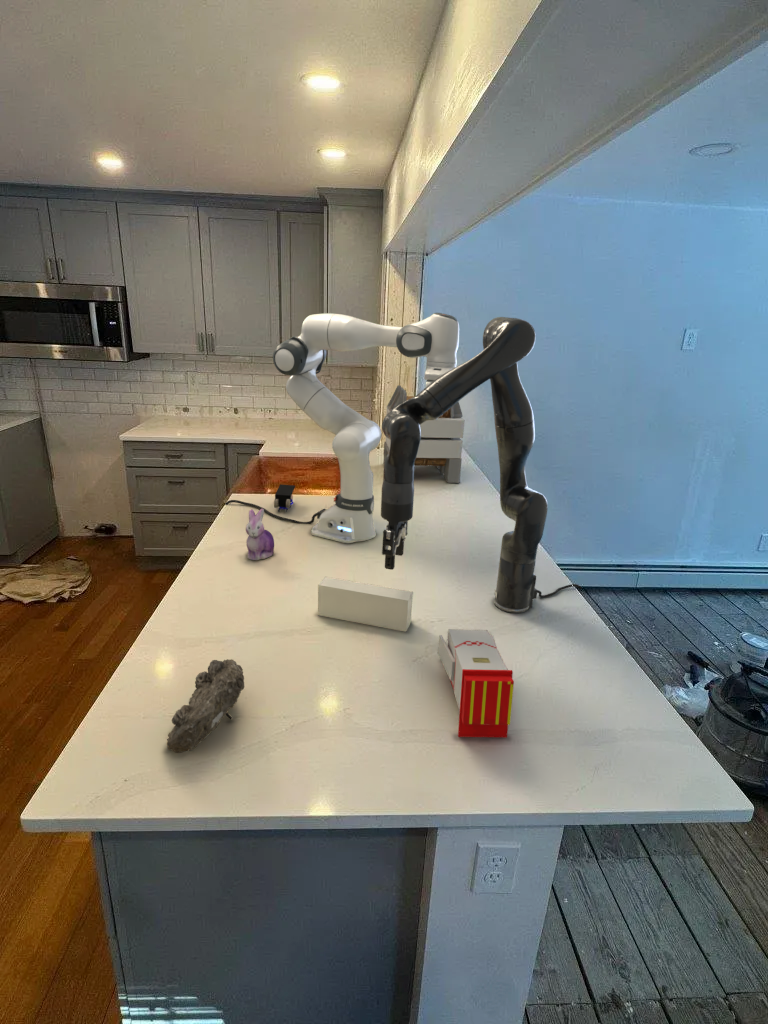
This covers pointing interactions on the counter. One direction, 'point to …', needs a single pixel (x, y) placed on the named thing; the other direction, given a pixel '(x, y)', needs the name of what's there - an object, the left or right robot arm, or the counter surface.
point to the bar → (365, 603)
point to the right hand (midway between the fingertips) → (394, 561)
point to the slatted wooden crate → (436, 439)
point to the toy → (478, 682)
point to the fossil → (206, 705)
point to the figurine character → (284, 497)
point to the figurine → (258, 537)
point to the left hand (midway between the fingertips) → (436, 418)
